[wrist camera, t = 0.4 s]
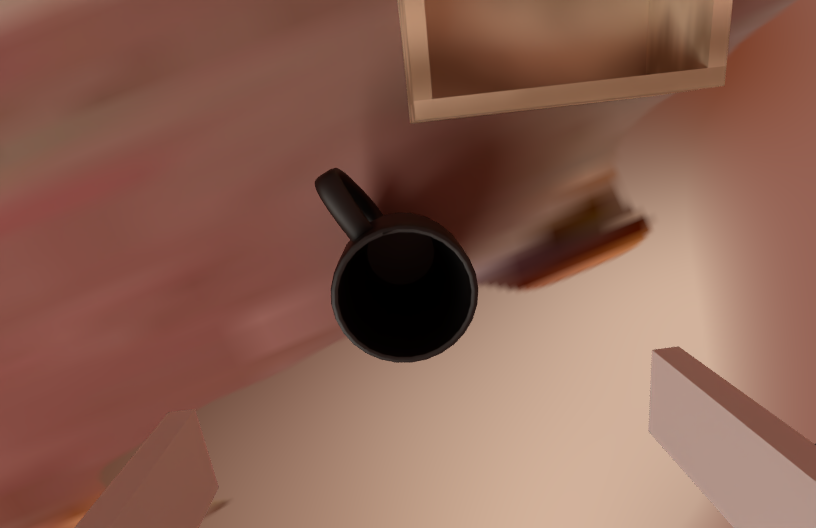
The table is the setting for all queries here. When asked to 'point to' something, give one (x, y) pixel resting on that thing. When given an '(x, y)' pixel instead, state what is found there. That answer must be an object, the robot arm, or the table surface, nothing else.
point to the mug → (396, 277)
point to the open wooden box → (556, 52)
